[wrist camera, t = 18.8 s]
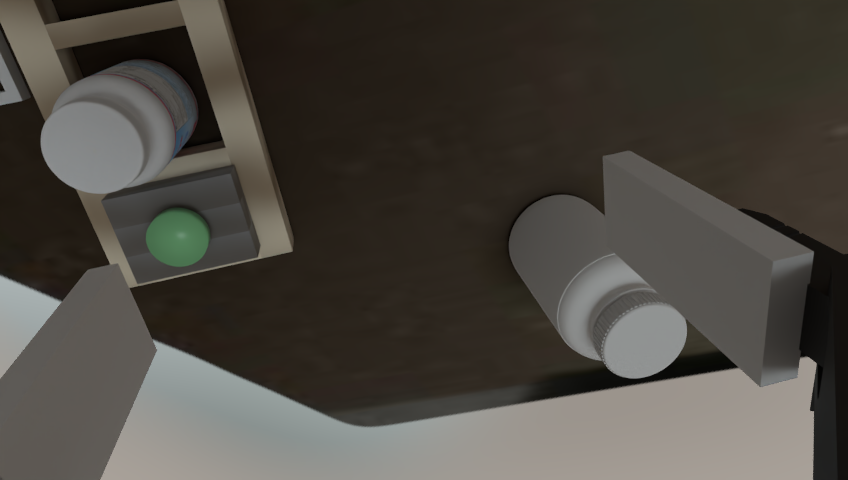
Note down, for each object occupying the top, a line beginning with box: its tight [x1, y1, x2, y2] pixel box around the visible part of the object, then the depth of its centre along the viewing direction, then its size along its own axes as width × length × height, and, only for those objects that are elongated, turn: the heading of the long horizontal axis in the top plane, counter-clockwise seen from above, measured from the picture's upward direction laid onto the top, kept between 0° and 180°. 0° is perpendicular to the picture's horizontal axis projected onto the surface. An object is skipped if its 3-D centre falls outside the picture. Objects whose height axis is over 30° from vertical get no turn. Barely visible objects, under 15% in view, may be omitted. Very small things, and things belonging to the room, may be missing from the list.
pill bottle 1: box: [41, 59, 198, 194], centre depth 33 cm, size 6×6×11 cm
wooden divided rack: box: [0, 0, 294, 288], centre depth 36 cm, size 26×12×4 cm, turn 10°
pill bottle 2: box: [509, 195, 687, 378], centre depth 41 cm, size 8×8×15 cm
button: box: [146, 208, 210, 267], centre depth 37 cm, size 4×4×3 cm
